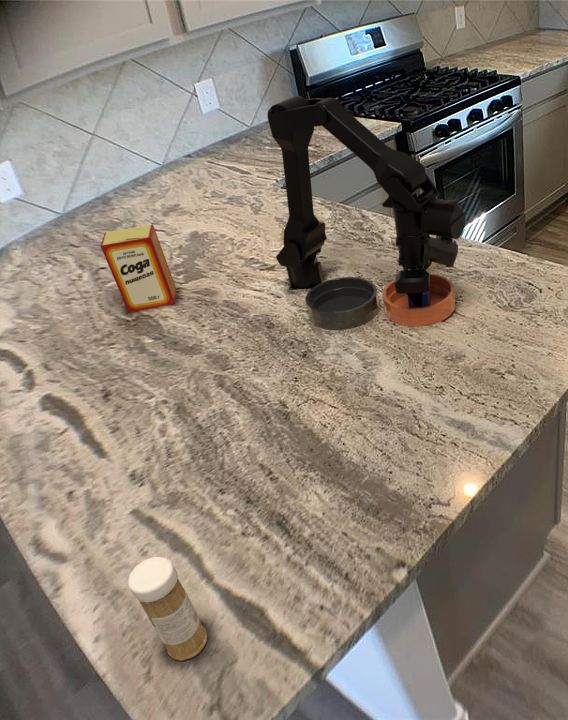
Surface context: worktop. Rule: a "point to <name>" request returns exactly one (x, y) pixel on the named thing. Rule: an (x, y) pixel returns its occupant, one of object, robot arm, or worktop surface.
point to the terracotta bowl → (437, 311)
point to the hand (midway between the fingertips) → (419, 301)
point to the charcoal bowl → (342, 303)
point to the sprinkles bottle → (168, 607)
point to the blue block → (424, 301)
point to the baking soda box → (139, 267)
